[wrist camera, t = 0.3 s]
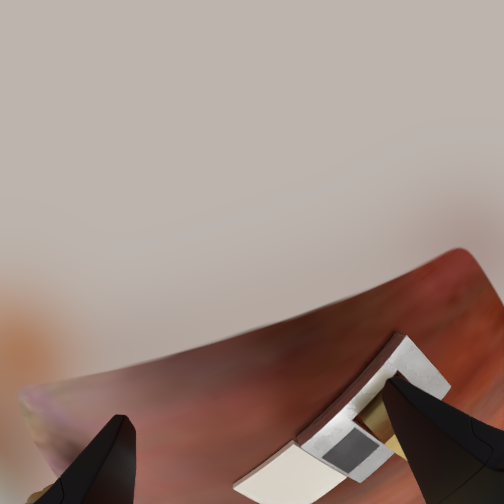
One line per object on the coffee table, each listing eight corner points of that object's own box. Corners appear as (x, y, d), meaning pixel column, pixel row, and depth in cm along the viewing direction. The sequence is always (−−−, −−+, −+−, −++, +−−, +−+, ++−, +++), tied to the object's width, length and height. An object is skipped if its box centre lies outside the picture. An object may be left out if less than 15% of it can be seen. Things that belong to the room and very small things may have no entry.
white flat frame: (440, 381, 22) (451, 386, 20) (354, 473, 21) (360, 483, 19) (395, 332, 22) (407, 335, 20) (296, 436, 21) (300, 447, 19)
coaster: (345, 472, 21) (347, 477, 20) (288, 513, 20) (289, 517, 19) (292, 439, 21) (293, 444, 20) (232, 484, 20) (232, 488, 20)
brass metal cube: (411, 396, 22) (451, 421, 15) (379, 430, 21) (412, 464, 14) (386, 372, 22) (427, 396, 15) (352, 409, 22) (384, 444, 15)
